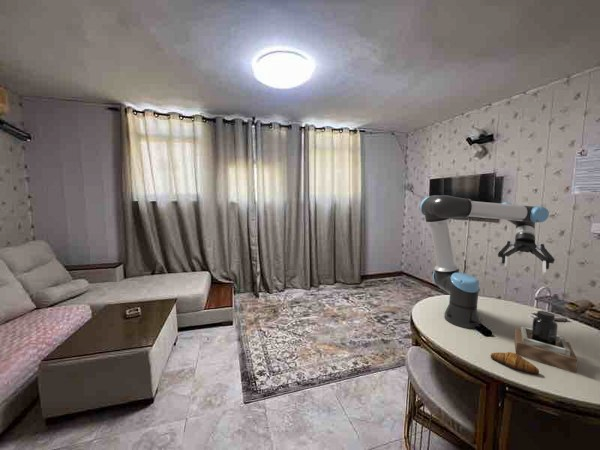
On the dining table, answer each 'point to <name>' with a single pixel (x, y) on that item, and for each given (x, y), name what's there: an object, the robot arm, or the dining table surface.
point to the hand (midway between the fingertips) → (524, 271)
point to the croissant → (515, 362)
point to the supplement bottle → (544, 328)
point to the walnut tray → (545, 350)
